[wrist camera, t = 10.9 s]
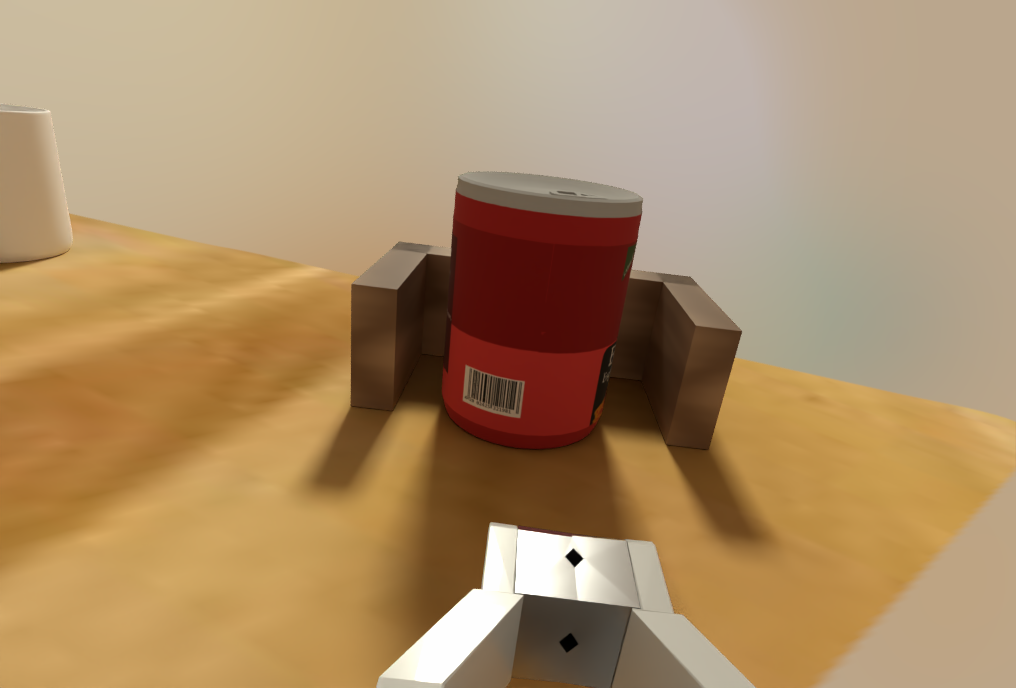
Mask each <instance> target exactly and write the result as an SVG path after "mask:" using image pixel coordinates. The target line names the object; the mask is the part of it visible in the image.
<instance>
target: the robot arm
mask: <svg viewBox="0 0 1016 688" xmlns="http://www.w3.org/2000/svg"><path fill="white" fill-rule="evenodd" d="M511 678H522V679H532V680H543V681H553V682H562V683H569V684H575V685H581V686H588V687H594V688H756V687H755V686H754V685H753V684H752V683H751V682H750V681H749V680H748V679H747V678H746V677H745V676H744V675H743V674H742V673H741V672H740V671H739V670H738V669H737V668H736V667H735V666H734V665H733V664H732V663H731V662H730V661H729V660H728V659H727V658H726V657H725V656H724V655H723V654H722V653H721V652H720V651H719V650H718V649H717V648H716V647H715V646H714V645H713V644H712V643H711V642H710V641H709V640H708V639H707V638H706V637H705V636H704V635H703V634H702V633H701V632H700V631H699V630H698V629H697V628H696V627H695V626H694V625H692V624H691V623H690V622H689V621H688V620H687V619H686V618H685V617H684V616H683V615H681V614H674V611H673V607H672V604H671V600H670V597H669V593H668V589H667V586H666V582H665V579H664V575H663V571H662V568H661V564H660V561H659V557H658V553H657V550H656V546H655V545H654V544H653V543H652V542H648V541H639V540H629V539H625V540H622V539H613V538H605V537H596V536H588V535H579V534H571V533H565V532H558V531H552V530H545V529H538V528H531V527H525V526H518V528H517V526H515V525H508V524H501V523H494V522H490V525H489V530H488V538H487V546H486V554H485V562H484V570H483V578H482V586H481V589H472V590H471V591H470V592H469V593H468V594H467V595H466V596H465V597H463V598H462V599H461V600H460V601H459V602H458V603H457V604H456V605H455V606H454V607H453V608H452V609H451V610H450V611H449V612H448V613H447V614H445V615H444V616H443V617H442V618H441V619H440V620H439V621H438V622H437V623H436V624H435V625H434V626H433V627H432V628H431V629H430V630H428V631H427V632H426V633H425V634H424V635H423V636H422V637H421V638H420V639H419V640H418V641H417V642H416V643H415V644H414V645H413V646H412V647H410V648H409V649H408V650H407V651H406V652H405V653H404V654H403V655H402V656H401V657H400V658H399V659H398V660H397V661H396V662H395V663H393V664H392V665H391V666H390V667H389V668H388V669H387V670H386V671H385V672H384V673H383V674H382V675H381V676H380V677H379V680H378V683H377V686H376V688H506V687H507V685H508V684H509V682H510V681H511Z"/></svg>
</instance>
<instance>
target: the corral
mask: <svg viewBox="0 0 1016 688" xmlns="http://www.w3.org/2000/svg"><path fill="white" fill-rule="evenodd" d="M450 260H451V248H446V247H438V246H430V245H422V244H414V243H405V242H398V243H397V244H396V245H395V246H394V247H393V248H392V249H391V250H389V251H388V252H387V253H386V254H385V255H384V256H383V257H382V258H380V259H379V260H378V261H377V262H376V263H375V264H374V265H372V266H371V267H370V268H369V269H368V270H367V271H366V272H365V273H363V274H362V275H361V276H360V277H359V278H358V279H357V280H355V281H354V282H353V283H352V290H351V406H357V407H365V408H373V409H381V410H389V411H393V409H394V407H395V405H396V403H397V401H398V399H399V397H400V395H401V393H402V391H403V389H404V387H405V385H406V383H407V381H408V379H409V377H410V375H411V373H412V371H413V369H414V367H415V365H416V363H417V361H418V359H419V357H420V355H421V354H429V355H437V356H444V348H445V333H446V318H447V304H448V289H449V274H450ZM741 334H742V331H741V330H740V328H738V326H737V325H736V324H735V323H734V322H733V321H732V320H731V319H730V318H729V317H728V316H727V315H726V314H725V313H724V312H723V311H722V310H721V308H720V307H719V306H718V305H717V304H716V303H715V302H714V301H713V300H712V299H711V298H710V297H709V296H708V295H707V294H706V293H705V292H704V291H703V290H702V288H701V287H700V286H699V285H698V284H697V283H696V282H695V281H694V280H693V279H692V278H691V277H688V276H679V275H671V274H662V273H654V272H646V271H638V270H631V273H630V278H629V283H628V288H627V293H626V298H625V303H624V308H623V313H622V318H621V323H620V328H619V333H618V338H617V343H616V347H615V352H614V357H613V362H612V367H611V372H610V377H617V378H625V379H634V380H641V381H642V383H643V386H644V389H645V391H646V394H647V396H648V399H649V401H650V404H651V407H652V409H653V412H654V414H655V417H656V419H657V422H658V425H659V427H660V430H661V432H662V435H663V437H664V440H665V443H666V444H667V445H675V446H683V447H691V448H699V449H707V450H709V446H710V442H711V439H712V435H713V432H714V428H715V425H716V421H717V418H718V414H719V411H720V407H721V404H722V400H723V397H724V393H725V390H726V386H727V383H728V379H729V376H730V372H731V369H732V365H733V362H734V358H735V355H736V351H737V348H738V344H739V340H740V337H741Z"/></svg>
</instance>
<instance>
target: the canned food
mask: <svg viewBox="0 0 1016 688" xmlns="http://www.w3.org/2000/svg"><path fill="white" fill-rule="evenodd" d="M642 202H643V198H642V197H641V196H639V195H638V194H636V193H634V192H631V191H628V190H625V189H621V188H617V187H613V186H608V185H603V184H597V183H592V182H586V181H580V180H573V179H566V178H559V177H551V176H543V175H532V174H521V173H509V172H469V173H464V174H462V175H460V176H458V185H457V188H456V196H455V209H454V216H453V231H452V246H451V260H450V274H449V289H448V304H447V318H446V333H445V348H444V362H443V377H442V396H443V400H444V404H445V408H446V410H447V413H448V415H449V417H450V418H451V419H452V420H453V421H454V422H455V423H456V424H457V425H458V426H460V427H461V428H462V429H464V430H465V431H467V432H468V433H470V434H472V435H474V436H476V437H478V438H480V439H483V440H486V441H489V442H492V443H495V444H499V445H503V446H508V447H515V448H522V449H547V448H556V447H561V446H566V445H569V444H572V443H574V442H577V441H580V440H581V439H583V438H584V437H586V436H587V435H589V433H590V432H591V431H592V430H593V429H594V427H595V425H596V423H597V422H598V420H599V418H600V417H601V414H602V411H603V407H604V402H605V397H606V392H607V387H608V382H609V377H610V372H611V367H612V362H613V357H614V352H615V347H616V343H617V338H618V333H619V328H620V323H621V318H622V313H623V308H624V303H625V298H626V293H627V288H628V283H629V278H630V273H631V268H632V263H633V258H634V253H635V248H636V243H637V239H638V230H639V226H640V221H641V215H642Z"/></svg>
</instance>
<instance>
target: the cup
mask: <svg viewBox="0 0 1016 688" xmlns="http://www.w3.org/2000/svg"><path fill="white" fill-rule="evenodd" d="M72 242H73V236H72V229H71V223H70V217H69V212H68V206H67V201H66V195H65V189H64V184H63V178H62V173H61V167H60V162H59V156H58V151H57V146H56V139H55V134H54V128H53V123H52V117H51V112H50V111H49V110H46V109H41V108H35V107H28V106H20V105H11V104H1V103H0V263H12V262H24V261H32V260H39V259H45V258H50V257H54V256H57V255H60V254H63V253H65V252H67V251H68V250H69V249H70V247H71V246H72Z"/></svg>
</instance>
